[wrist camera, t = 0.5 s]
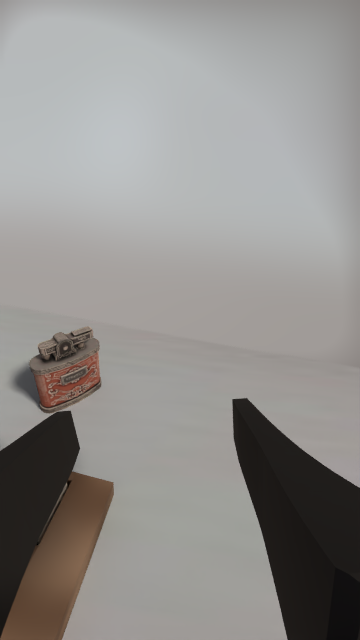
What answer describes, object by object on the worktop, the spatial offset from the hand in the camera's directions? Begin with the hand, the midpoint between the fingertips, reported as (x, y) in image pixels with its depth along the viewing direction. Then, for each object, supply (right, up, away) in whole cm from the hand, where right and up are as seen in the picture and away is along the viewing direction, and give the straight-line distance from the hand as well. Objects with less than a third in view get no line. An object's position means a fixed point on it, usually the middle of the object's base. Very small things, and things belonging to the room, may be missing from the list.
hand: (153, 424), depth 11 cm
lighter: (-14, -6, +22) cm, 27 cm away
